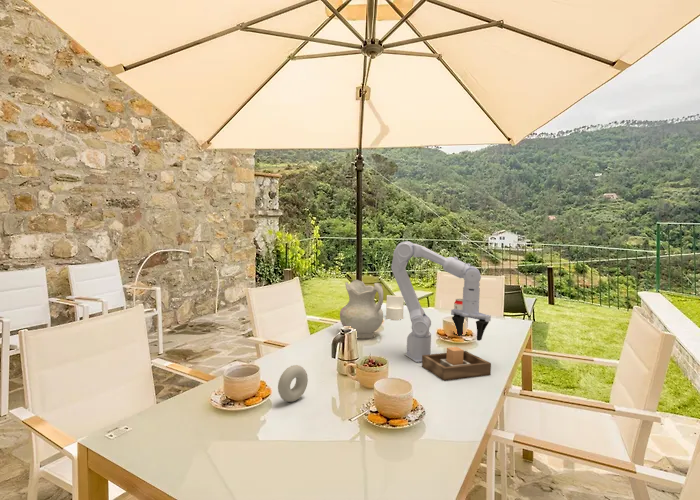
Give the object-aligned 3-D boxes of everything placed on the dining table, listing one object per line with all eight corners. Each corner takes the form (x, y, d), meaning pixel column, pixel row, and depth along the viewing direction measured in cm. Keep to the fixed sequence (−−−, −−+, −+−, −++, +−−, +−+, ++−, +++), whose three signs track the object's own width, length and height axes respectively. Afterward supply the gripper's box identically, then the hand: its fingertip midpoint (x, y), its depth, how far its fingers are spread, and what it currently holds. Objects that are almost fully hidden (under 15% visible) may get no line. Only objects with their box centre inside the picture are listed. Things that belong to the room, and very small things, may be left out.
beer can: (467, 336, 186) (469, 301, 185) (453, 335, 187) (454, 300, 186) (466, 333, 192) (467, 298, 191) (452, 332, 193) (454, 298, 192)
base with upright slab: (385, 319, 215) (386, 297, 215) (386, 316, 224) (387, 294, 223) (402, 320, 214) (403, 297, 213) (403, 317, 223) (404, 295, 222)
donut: (283, 408, 110) (283, 371, 110) (274, 404, 112) (275, 368, 112) (310, 397, 118) (310, 362, 117) (301, 393, 120) (302, 360, 119)
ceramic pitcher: (394, 337, 185) (397, 282, 186) (373, 344, 169) (376, 283, 169) (353, 330, 197) (356, 278, 197) (330, 336, 180) (333, 279, 181)
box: (421, 366, 145) (422, 355, 145) (465, 361, 151) (465, 350, 151) (444, 381, 132) (444, 368, 132) (490, 374, 138) (491, 363, 138)
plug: (446, 367, 143) (446, 347, 142) (455, 366, 144) (456, 346, 144) (452, 371, 139) (453, 351, 139) (462, 370, 140) (463, 350, 140)
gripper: (447, 298, 150) (445, 335, 151) (484, 304, 140) (482, 344, 141) (457, 296, 155) (456, 332, 156) (494, 302, 145) (492, 340, 146)
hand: (469, 337), depth 149 cm, fingers open, 7 cm apart
